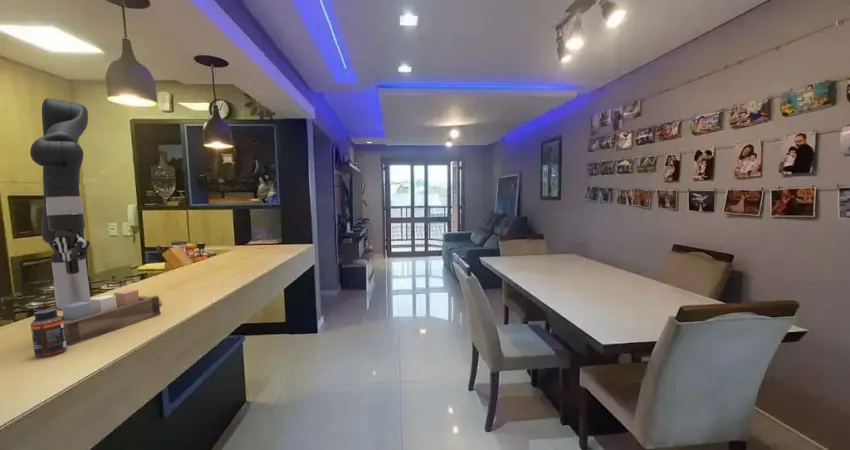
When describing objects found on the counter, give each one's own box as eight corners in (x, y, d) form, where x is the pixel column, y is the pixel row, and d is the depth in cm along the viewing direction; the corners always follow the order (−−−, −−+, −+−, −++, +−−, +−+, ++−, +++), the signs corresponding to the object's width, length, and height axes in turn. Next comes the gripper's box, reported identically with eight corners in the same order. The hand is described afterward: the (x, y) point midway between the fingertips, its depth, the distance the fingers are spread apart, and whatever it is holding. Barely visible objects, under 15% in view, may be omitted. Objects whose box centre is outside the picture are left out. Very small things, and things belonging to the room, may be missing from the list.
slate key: (64, 323, 109) (62, 306, 109) (81, 318, 113) (79, 301, 113) (75, 324, 108) (73, 307, 108) (92, 319, 112) (90, 302, 112)
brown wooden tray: (40, 341, 107) (38, 321, 106) (133, 312, 132) (132, 295, 131) (71, 345, 104) (68, 324, 103) (160, 314, 129) (158, 297, 128)
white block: (91, 315, 116) (89, 299, 115) (107, 310, 120) (105, 295, 120) (102, 316, 115) (100, 299, 114) (117, 311, 119) (115, 295, 118)
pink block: (115, 308, 123) (114, 293, 122) (129, 304, 127) (128, 289, 126) (126, 309, 121) (124, 293, 121) (139, 304, 126) (138, 289, 125)
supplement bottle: (73, 348, 102) (68, 306, 100) (51, 358, 96) (45, 314, 95) (51, 348, 102) (46, 307, 101) (27, 358, 96) (21, 314, 95)
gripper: (32, 214, 106) (41, 276, 108) (66, 213, 102) (74, 277, 104) (64, 212, 113) (71, 270, 115) (97, 211, 110) (104, 271, 111)
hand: (73, 273), depth 109 cm, fingers closed
